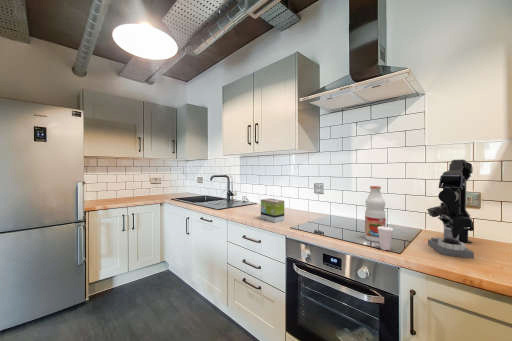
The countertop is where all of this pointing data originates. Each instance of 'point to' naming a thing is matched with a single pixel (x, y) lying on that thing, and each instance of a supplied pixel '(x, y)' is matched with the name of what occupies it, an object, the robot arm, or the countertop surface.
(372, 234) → the fruit juice
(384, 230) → the smoothie
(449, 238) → the lens
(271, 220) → the tea box
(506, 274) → the countertop surface
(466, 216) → the robot arm
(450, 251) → the camera body
